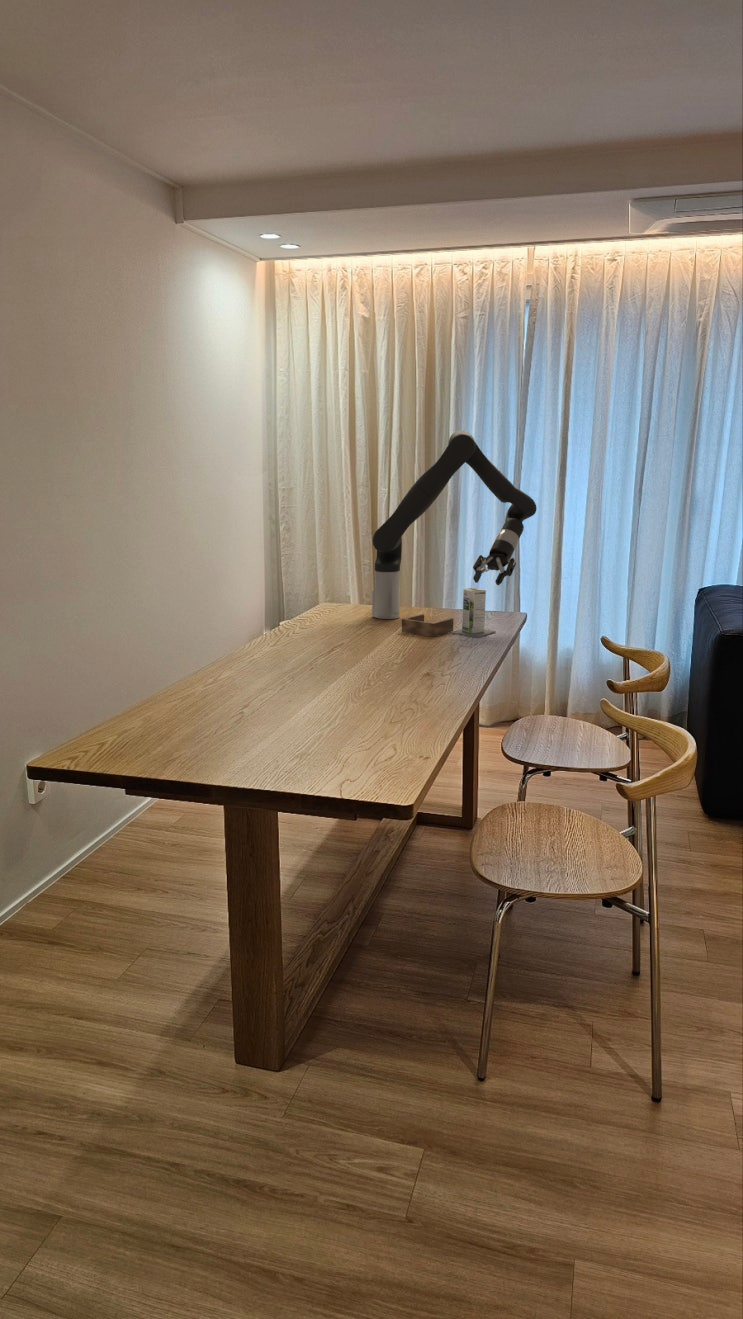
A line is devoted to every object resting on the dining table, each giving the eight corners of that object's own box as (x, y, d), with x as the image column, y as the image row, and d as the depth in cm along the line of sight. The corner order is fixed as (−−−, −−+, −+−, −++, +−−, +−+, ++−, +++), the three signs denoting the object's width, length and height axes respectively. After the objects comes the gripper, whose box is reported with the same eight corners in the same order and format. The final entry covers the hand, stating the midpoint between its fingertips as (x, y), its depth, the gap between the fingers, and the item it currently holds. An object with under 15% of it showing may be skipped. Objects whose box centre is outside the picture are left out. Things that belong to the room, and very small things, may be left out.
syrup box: (461, 630, 313) (462, 588, 310) (476, 629, 316) (477, 587, 313) (470, 633, 308) (471, 590, 305) (485, 632, 311) (486, 589, 308)
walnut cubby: (401, 632, 314) (401, 619, 313) (421, 626, 323) (421, 613, 322) (433, 637, 306) (433, 623, 305) (453, 631, 315) (453, 618, 314)
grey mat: (450, 633, 311) (450, 632, 311) (467, 628, 320) (467, 627, 320) (478, 638, 305) (478, 636, 304) (495, 632, 313) (495, 631, 313)
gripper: (483, 537, 322) (464, 573, 316) (519, 540, 313) (500, 577, 307) (490, 551, 327) (472, 587, 321) (526, 554, 319) (508, 591, 312)
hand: (486, 582), depth 314 cm, fingers open, 8 cm apart
